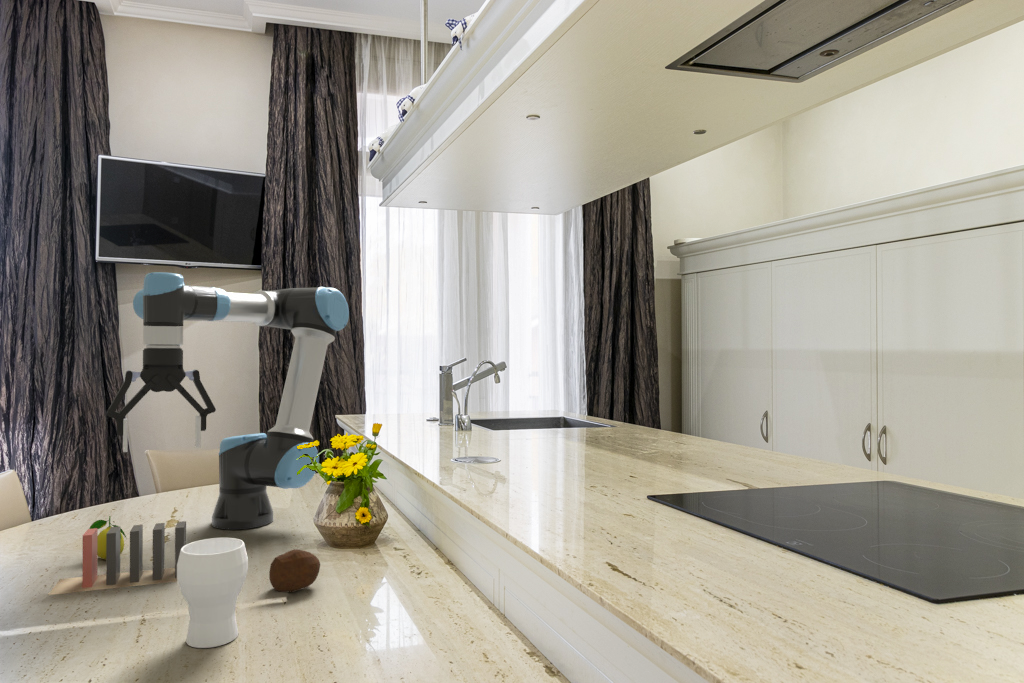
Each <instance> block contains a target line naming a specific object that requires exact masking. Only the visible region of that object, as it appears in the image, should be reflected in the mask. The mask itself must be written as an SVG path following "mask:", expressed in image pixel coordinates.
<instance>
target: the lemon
mask: <svg viewBox="0 0 1024 683" xmlns="http://www.w3.org/2000/svg"><path fill="white" fill-rule="evenodd" d="M111 517H112V516H111V515H110V516H109V517H108V520H104V519H98V520H95V521H94V522H93V523H91V525H90V527H89V528H88V529H94V528H98V530H100V529H102V528H104V527H105V526H106V525H107V523H108V526H107V527H106V528H104V529H102V530H101V531H100V532H99V533H98V534H97V558H99V559H102V560H105V561H106V534H107V532H108V531H109V530H110V528H111V527H119V525H116V524H115V525H114V524H112V523H111ZM124 538H127V535H126V534H125V531H124V530H123V529H122V527H120V555H121V554H122V553H123V551H124V549H125V540H124Z"/></svg>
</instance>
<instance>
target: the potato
mask: <svg viewBox="0 0 1024 683" xmlns="http://www.w3.org/2000/svg"><path fill="white" fill-rule="evenodd" d="M320 570H321V562H320V560H319V558H318V557H317V556H316V555H315V554H313V553H311V552H310V551H306V550H301V549H298V548H297V549H295V548H294V549H291V550H288V551H285V553H281V554H280V555H277V556H275V557H274V558H273V560H272V561H271V563H270V567H269V575H268V578H269V582H270V585H271V586H272V588H273V589H274V590H275V591H277V592H283V593H285V592H287V593H288V594H289V593H293V592H296V591H300V590H303V589H307V588H308V587H309V586H311V585H313V583H314V582H315V581H316V580H317V577H318V576H319V575H320V574H319V573H320Z"/></svg>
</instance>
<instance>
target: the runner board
mask: <svg viewBox="0 0 1024 683" xmlns="http://www.w3.org/2000/svg"><path fill="white" fill-rule="evenodd" d="M175 582H178V581H177V578H175V567H170V568H169V567H167V568H164V574H163V577H162V580H153V569H149V570H148V569H147V570H143V574H142V576H141V578H140V581H139V582H134V583H130V571H129V572H128V571H127V572H120V577H119V579H118V581H117V583H116V584H115V585H106V574H99V575H98V574H97V580H96V581H95V583H94V585H93V586H92V587H86V588H82V576H79V577H78V576H76V577H69V578H59V580H58V582H56V583H55V585H54V586H53V588H52V589H51V590H50V592H48V594H47V596H53V595H54V596H55V595H60V594H61V595H64V594H70V593H80V592H90V591H100V590H107V589H119V588H127V587H138V586H146V585H157V584H167V583H175Z"/></svg>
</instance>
